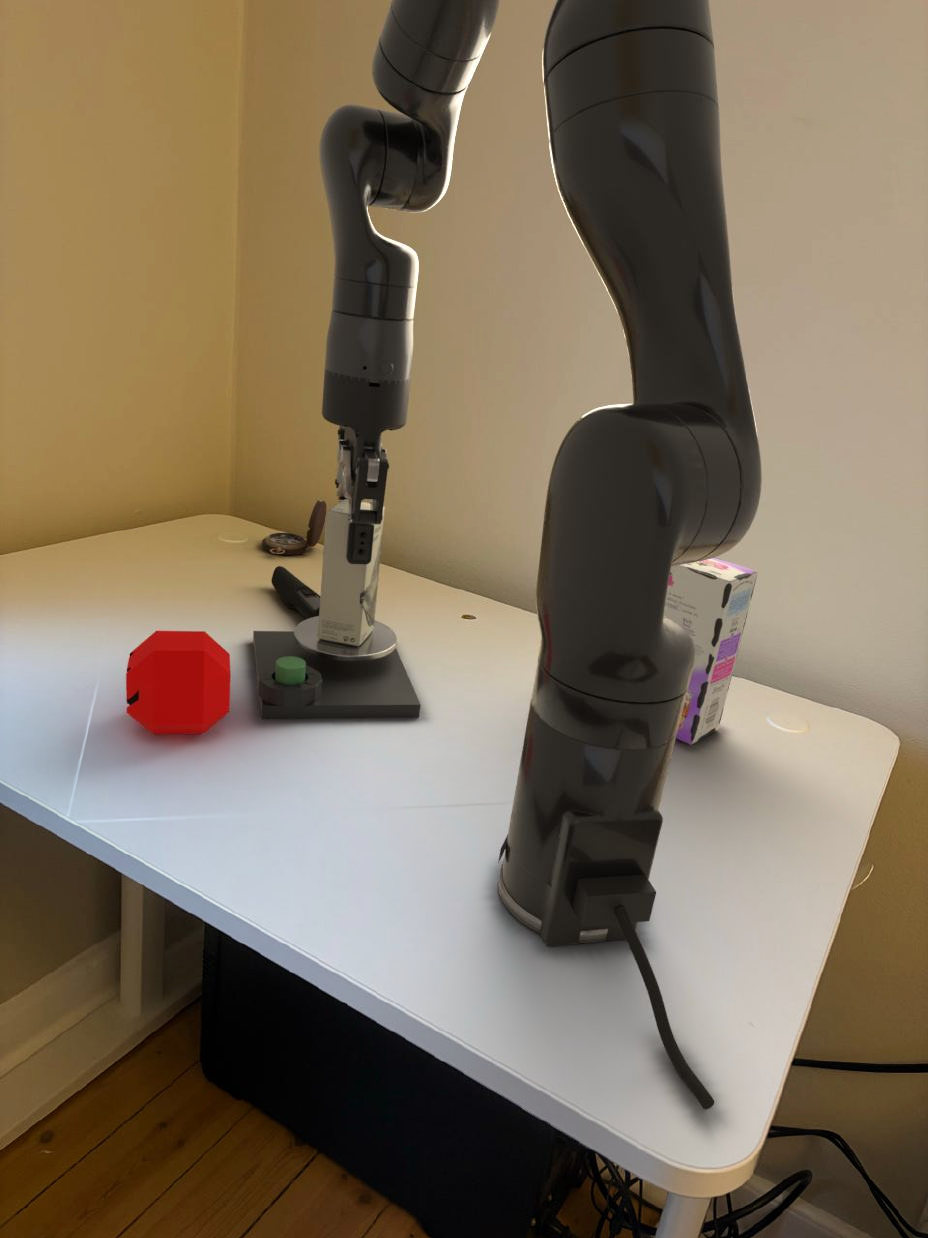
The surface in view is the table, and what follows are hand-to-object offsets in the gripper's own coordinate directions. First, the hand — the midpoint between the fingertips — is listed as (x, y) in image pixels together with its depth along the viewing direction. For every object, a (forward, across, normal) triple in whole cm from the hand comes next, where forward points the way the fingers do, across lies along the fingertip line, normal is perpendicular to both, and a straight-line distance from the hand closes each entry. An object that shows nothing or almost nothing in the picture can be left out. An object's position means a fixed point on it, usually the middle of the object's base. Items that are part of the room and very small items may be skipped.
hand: (353, 550), depth 86 cm
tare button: (+10, +8, -6) cm, 14 cm away
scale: (+12, +2, -2) cm, 13 cm away
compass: (+12, -35, -3) cm, 37 cm away
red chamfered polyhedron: (+13, +11, -15) cm, 22 cm away
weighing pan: (+9, 0, 0) cm, 9 cm away
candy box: (+12, +9, +28) cm, 32 cm away
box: (+9, 0, 0) cm, 9 cm away
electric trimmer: (+13, -14, -3) cm, 19 cm away
